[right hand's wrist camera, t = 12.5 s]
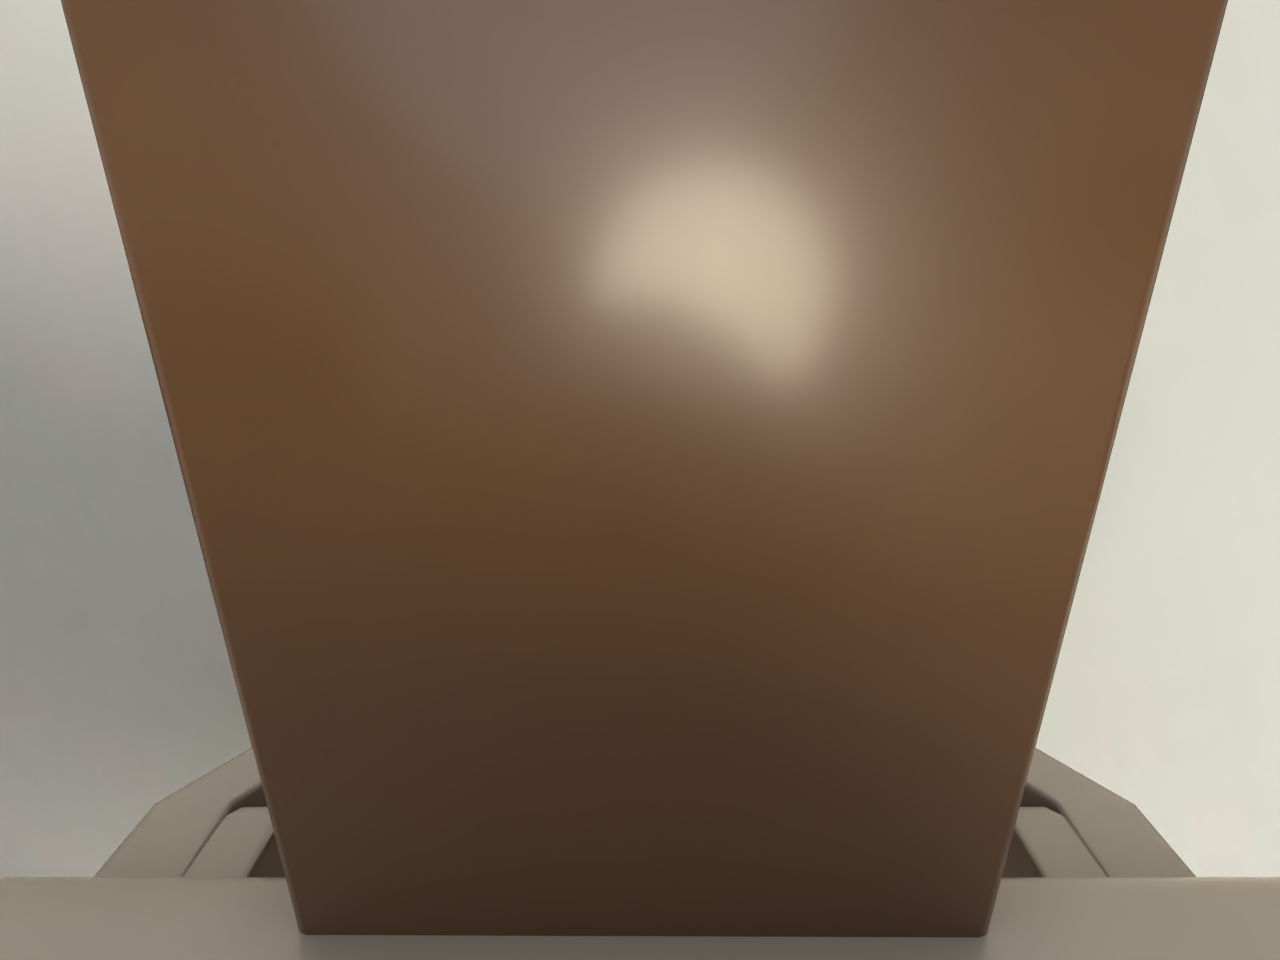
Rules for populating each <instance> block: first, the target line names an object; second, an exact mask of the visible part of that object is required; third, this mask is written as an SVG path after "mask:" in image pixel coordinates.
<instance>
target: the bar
mask: <svg viewBox="0 0 1280 960" xmlns="http://www.w3.org/2000/svg"><path fill="white" fill-rule="evenodd" d="M1227 2H1228V0H61V3H62V7H63V11H64V15H65V18H66V22H67V26H68V30H69V34H70V38H71V42H72V46H73V50H74V54H75V57H76V61H77V65H78V69H79V73H80V77H81V81H82V85H83V89H84V93H85V97H86V100H87V104H88V108H89V112H90V116H91V120H92V124H93V128H94V132H95V136H96V139H97V143H98V147H99V151H100V155H101V159H102V163H103V167H104V171H105V175H106V178H107V182H108V186H109V190H110V194H111V198H112V202H113V206H114V210H115V214H116V218H117V221H118V225H119V229H120V233H121V237H122V241H123V245H124V249H125V253H126V257H127V260H128V264H129V268H130V272H131V276H132V280H133V284H134V288H135V292H136V296H137V300H138V303H139V307H140V311H141V315H142V319H143V323H144V327H145V331H146V335H147V339H148V342H149V346H150V350H151V354H152V358H153V362H154V366H155V370H156V374H157V378H158V382H159V385H160V389H161V393H162V397H163V401H164V405H165V409H166V413H167V417H168V421H169V424H170V428H171V432H172V436H173V440H174V444H175V448H176V452H177V456H178V460H179V464H180V467H181V471H182V475H183V479H184V483H185V487H186V491H187V495H188V499H189V503H190V506H191V510H192V514H193V518H194V522H195V526H196V530H197V534H198V538H199V542H200V546H201V549H202V553H203V557H204V561H205V565H206V569H207V573H208V577H209V581H210V585H211V588H212V592H213V596H214V600H215V604H216V608H217V612H218V616H219V620H220V624H221V628H222V631H223V635H224V639H225V643H226V647H227V651H228V655H229V659H230V663H231V667H232V670H233V674H234V678H235V682H236V686H237V690H238V694H239V698H240V702H241V706H242V710H243V713H244V717H245V721H246V725H247V729H248V733H249V737H250V741H251V745H252V749H253V752H254V756H255V760H256V764H257V768H258V772H259V776H260V780H261V784H262V788H263V791H264V795H265V799H266V803H267V807H268V811H269V815H270V819H271V823H272V827H273V831H274V834H275V838H276V842H277V846H278V850H279V854H280V858H281V862H282V866H283V870H284V873H285V877H286V881H287V885H288V889H289V893H290V897H291V901H292V905H293V909H294V913H295V916H296V920H297V924H298V928H299V932H301V933H303V934H305V935H448V936H715V937H982V936H984V935H986V934H987V932H988V928H989V924H990V920H991V916H992V912H993V909H994V905H995V901H996V897H997V893H998V889H999V885H1000V881H1001V878H1002V874H1003V870H1004V866H1005V862H1006V858H1007V854H1008V850H1009V847H1010V843H1011V839H1012V835H1013V831H1014V827H1015V823H1016V819H1017V816H1018V812H1019V808H1020V804H1021V800H1022V796H1023V792H1024V788H1025V785H1026V781H1027V777H1028V773H1029V769H1030V765H1031V761H1032V757H1033V754H1034V750H1035V746H1036V742H1037V738H1038V734H1039V730H1040V726H1041V723H1042V719H1043V715H1044V711H1045V707H1046V703H1047V699H1048V695H1049V692H1050V688H1051V684H1052V680H1053V676H1054V672H1055V668H1056V664H1057V661H1058V657H1059V653H1060V649H1061V645H1062V641H1063V637H1064V633H1065V630H1066V626H1067V622H1068V618H1069V614H1070V610H1071V606H1072V602H1073V599H1074V595H1075V591H1076V587H1077V583H1078V579H1079V575H1080V572H1081V568H1082V564H1083V560H1084V556H1085V552H1086V548H1087V544H1088V541H1089V537H1090V533H1091V529H1092V525H1093V521H1094V517H1095V513H1096V510H1097V506H1098V502H1099V498H1100V494H1101V490H1102V486H1103V482H1104V479H1105V475H1106V471H1107V467H1108V463H1109V459H1110V455H1111V451H1112V448H1113V444H1114V440H1115V436H1116V432H1117V428H1118V424H1119V420H1120V417H1121V413H1122V409H1123V405H1124V401H1125V397H1126V393H1127V389H1128V386H1129V382H1130V378H1131V374H1132V370H1133V366H1134V362H1135V358H1136V355H1137V351H1138V347H1139V343H1140V339H1141V335H1142V331H1143V327H1144V324H1145V320H1146V316H1147V312H1148V308H1149V304H1150V300H1151V296H1152V293H1153V289H1154V285H1155V281H1156V277H1157V273H1158V269H1159V265H1160V262H1161V258H1162V254H1163V250H1164V246H1165V242H1166V238H1167V234H1168V231H1169V227H1170V223H1171V219H1172V215H1173V211H1174V207H1175V204H1176V200H1177V196H1178V192H1179V188H1180V184H1181V180H1182V176H1183V173H1184V169H1185V165H1186V161H1187V157H1188V153H1189V149H1190V145H1191V142H1192V138H1193V134H1194V130H1195V126H1196V122H1197V118H1198V114H1199V111H1200V107H1201V103H1202V99H1203V95H1204V91H1205V87H1206V83H1207V80H1208V76H1209V72H1210V68H1211V64H1212V60H1213V56H1214V52H1215V49H1216V45H1217V41H1218V37H1219V33H1220V29H1221V25H1222V21H1223V18H1224V14H1225V10H1226V6H1227Z"/></svg>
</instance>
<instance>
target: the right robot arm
mask: <svg viewBox="0 0 1280 960" xmlns="http://www.w3.org/2000/svg"><path fill="white" fill-rule="evenodd" d="M0 960H1280V877H1196V876H1195V875H1194V874H1193V873H1192V871H1191V870H1190V869H1189V868H1188V867H1187V866H1186V864H1185V863H1184V862H1183V861H1182V860H1181V859H1180V857H1179V856H1178V855H1177V854H1176V853H1175V851H1174V850H1173V849H1172V848H1171V847H1170V846H1169V844H1168V843H1167V842H1166V841H1165V840H1164V839H1163V837H1162V836H1161V835H1160V834H1159V833H1158V831H1157V830H1156V829H1155V828H1154V827H1153V826H1152V824H1151V823H1150V822H1149V821H1148V820H1147V819H1146V817H1145V816H1144V815H1143V814H1142V813H1141V811H1140V810H1139V809H1138V808H1137V807H1136V806H1135V805H1134V804H1132V803H1131V802H1129V801H1127V800H1125V799H1124V798H1122V797H1120V796H1118V795H1117V794H1115V793H1113V792H1111V791H1110V790H1108V789H1106V788H1104V787H1103V786H1101V785H1099V784H1097V783H1096V782H1094V781H1092V780H1091V779H1089V778H1087V777H1085V776H1084V775H1082V774H1080V773H1078V772H1077V771H1075V770H1073V769H1071V768H1070V767H1068V766H1066V765H1064V764H1063V763H1061V762H1059V761H1057V760H1056V759H1054V758H1052V757H1050V756H1049V755H1047V754H1045V753H1044V752H1042V751H1040V750H1038V749H1037V748H1035V750H1034V754H1033V757H1032V761H1031V765H1030V769H1029V773H1028V777H1027V781H1026V785H1025V788H1024V792H1023V796H1022V800H1021V804H1020V808H1019V812H1018V816H1017V819H1016V823H1015V827H1014V831H1013V835H1012V839H1011V843H1010V847H1009V850H1008V854H1007V858H1006V862H1005V866H1004V870H1003V874H1002V878H1001V881H1000V885H999V889H998V893H997V897H996V901H995V905H994V909H993V912H992V916H991V920H990V924H989V928H988V932H987V934H986V935H984V936H982V937H715V936H448V935H305V934H303V933H301V932H299V928H298V924H297V920H296V916H295V913H294V909H293V905H292V901H291V897H290V893H289V889H288V885H287V881H286V877H285V873H284V870H283V866H282V862H281V858H280V854H279V850H278V846H277V842H276V838H275V834H274V831H273V827H272V823H271V819H270V815H269V811H268V807H267V803H266V799H265V795H264V791H263V788H262V784H261V780H260V776H259V772H258V768H257V764H256V760H255V756H254V752H253V749H252V748H251V749H249V750H247V751H246V752H244V753H242V754H241V755H239V756H237V757H235V758H234V759H232V760H230V761H228V762H227V763H225V764H223V765H222V766H220V767H218V768H216V769H215V770H213V771H211V772H209V773H208V774H206V775H204V776H202V777H201V778H199V779H197V780H196V781H194V782H192V783H190V784H189V785H187V786H185V787H183V788H182V789H180V790H178V791H177V792H175V793H173V794H171V795H170V796H168V797H166V798H164V799H163V800H161V801H159V802H157V803H156V804H155V805H154V806H153V807H152V808H151V809H150V810H149V812H148V813H147V814H146V815H145V816H144V818H143V819H142V820H141V821H140V822H139V824H138V825H137V826H136V827H135V828H134V829H133V831H132V832H131V833H130V834H129V835H128V837H127V838H126V839H125V840H124V841H123V843H122V844H121V845H120V846H119V847H118V849H117V850H116V851H115V852H114V853H113V854H112V856H111V857H110V858H109V859H108V860H107V862H106V863H105V864H104V865H103V866H102V868H101V869H100V870H99V871H98V872H97V873H96V875H95V876H94V877H0Z"/></svg>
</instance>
